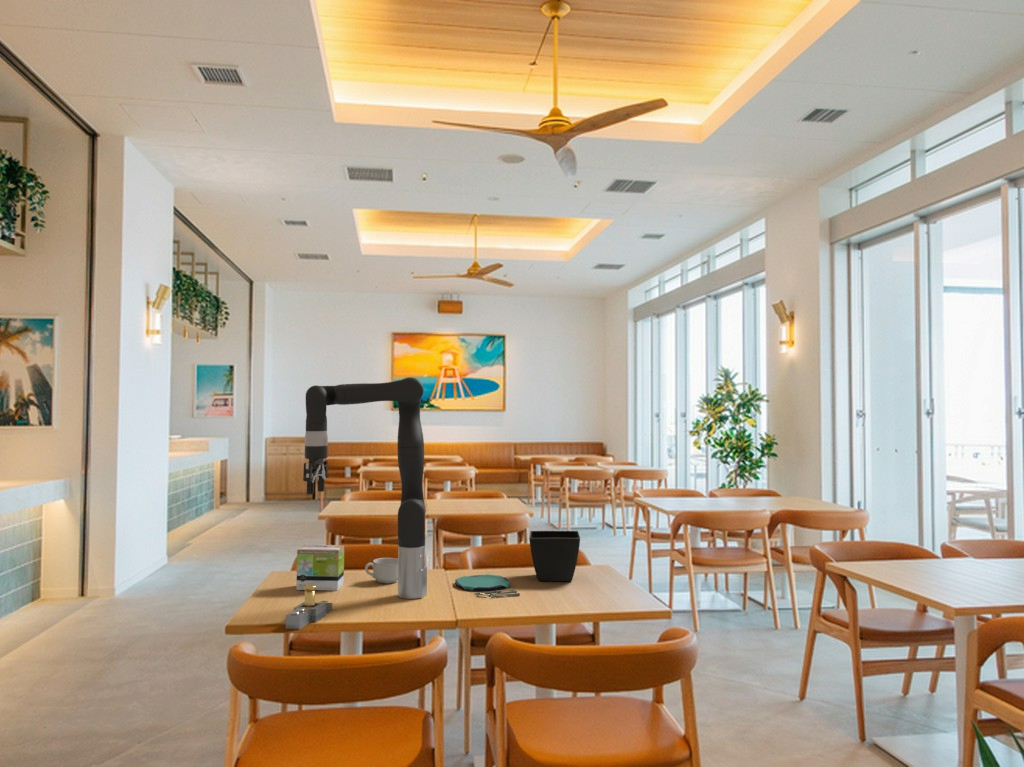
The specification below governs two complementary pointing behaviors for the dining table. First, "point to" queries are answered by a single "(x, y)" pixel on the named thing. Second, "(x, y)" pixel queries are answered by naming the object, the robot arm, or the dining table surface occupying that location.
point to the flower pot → (554, 554)
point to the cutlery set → (485, 584)
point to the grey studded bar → (306, 614)
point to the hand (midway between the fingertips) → (315, 492)
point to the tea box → (320, 567)
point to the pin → (309, 595)
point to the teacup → (384, 570)
